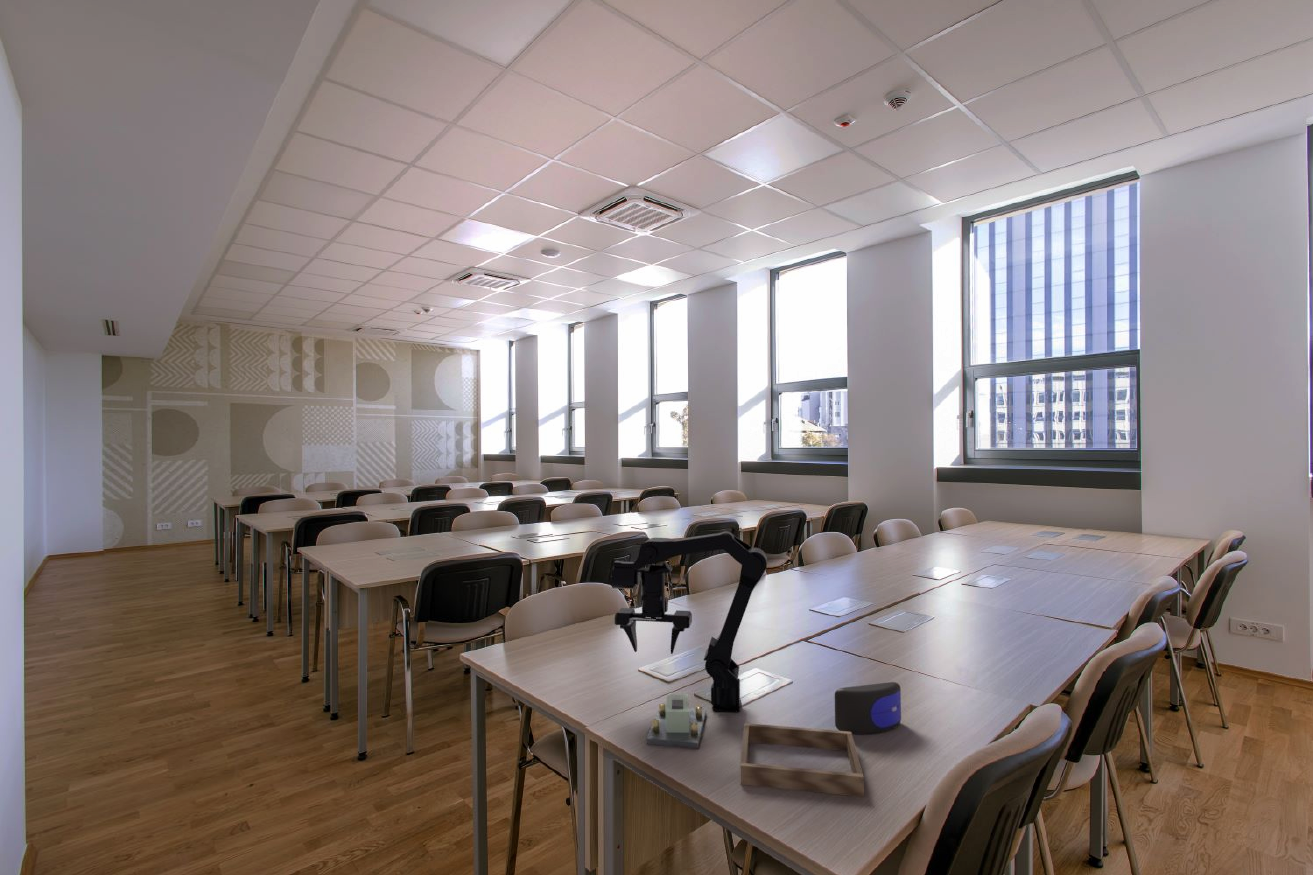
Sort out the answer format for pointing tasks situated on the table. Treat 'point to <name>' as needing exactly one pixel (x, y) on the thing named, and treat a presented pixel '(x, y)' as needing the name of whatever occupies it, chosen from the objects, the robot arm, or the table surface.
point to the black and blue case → (868, 708)
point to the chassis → (686, 740)
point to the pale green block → (677, 713)
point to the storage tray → (800, 776)
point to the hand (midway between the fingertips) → (653, 652)
